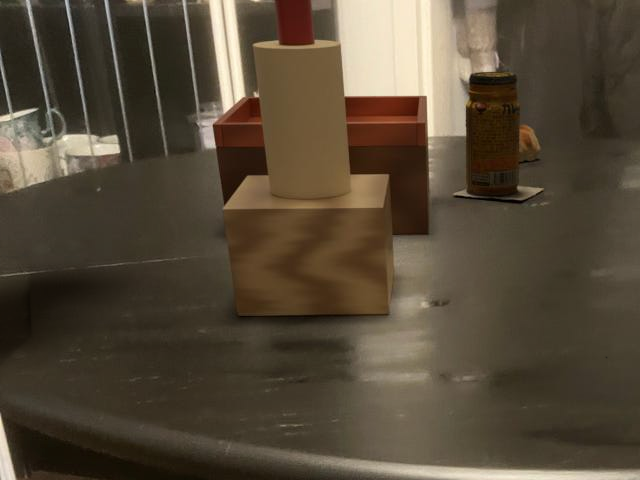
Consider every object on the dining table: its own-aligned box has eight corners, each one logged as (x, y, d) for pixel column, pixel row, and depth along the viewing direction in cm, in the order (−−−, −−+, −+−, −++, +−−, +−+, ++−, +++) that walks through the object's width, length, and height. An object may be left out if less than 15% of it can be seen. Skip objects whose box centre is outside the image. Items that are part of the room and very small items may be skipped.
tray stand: (228, 236, 97) (212, 124, 91) (255, 195, 112) (242, 96, 106) (428, 233, 98) (425, 122, 92) (429, 194, 112) (426, 95, 107)
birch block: (237, 316, 77) (221, 208, 73) (259, 272, 87) (247, 175, 82) (389, 314, 78) (383, 207, 73) (394, 271, 87) (389, 174, 83)
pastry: (491, 168, 124) (491, 135, 122) (457, 161, 128) (456, 129, 126) (544, 159, 129) (545, 126, 127) (509, 152, 133) (510, 121, 131)
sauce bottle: (264, 199, 75) (240, -3, 67) (276, 182, 80) (254, -8, 72) (348, 199, 75) (333, -3, 67) (354, 181, 80) (340, -8, 73)
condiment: (478, 184, 117) (477, 68, 110) (544, 190, 114) (548, 72, 107) (452, 196, 111) (450, 76, 104) (521, 203, 109) (523, 80, 101)
